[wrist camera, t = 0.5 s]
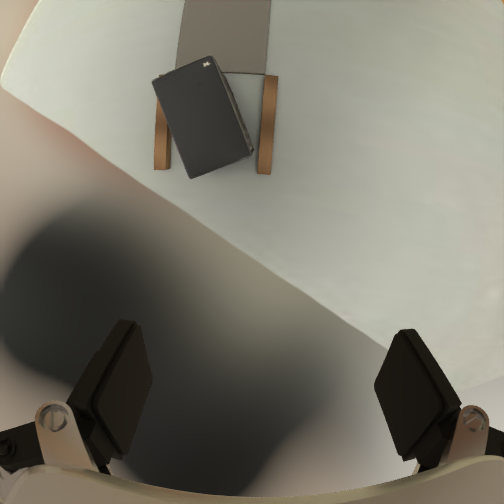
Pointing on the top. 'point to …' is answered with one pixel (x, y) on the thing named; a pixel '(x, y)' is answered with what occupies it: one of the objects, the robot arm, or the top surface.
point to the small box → (202, 116)
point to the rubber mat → (225, 34)
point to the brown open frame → (266, 133)
